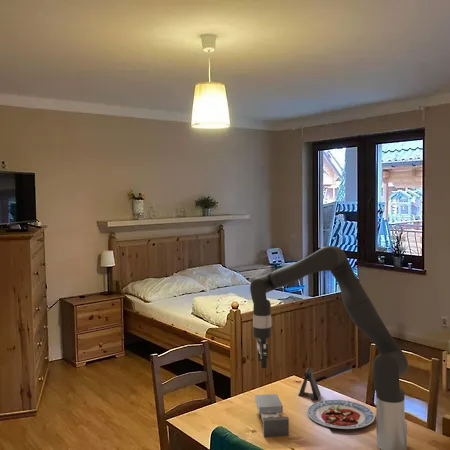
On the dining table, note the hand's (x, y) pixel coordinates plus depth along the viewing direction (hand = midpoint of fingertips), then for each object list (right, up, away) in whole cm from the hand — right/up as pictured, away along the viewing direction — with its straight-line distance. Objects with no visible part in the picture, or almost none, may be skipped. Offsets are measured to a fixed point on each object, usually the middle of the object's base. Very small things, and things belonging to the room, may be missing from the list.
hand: (262, 364), depth 203 cm
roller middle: (+2, -18, -12) cm, 22 cm away
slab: (+2, -14, -8) cm, 17 cm away
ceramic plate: (+30, -19, -8) cm, 37 cm away
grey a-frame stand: (+21, -18, +13) cm, 31 cm away
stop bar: (+3, -20, -23) cm, 31 cm away
